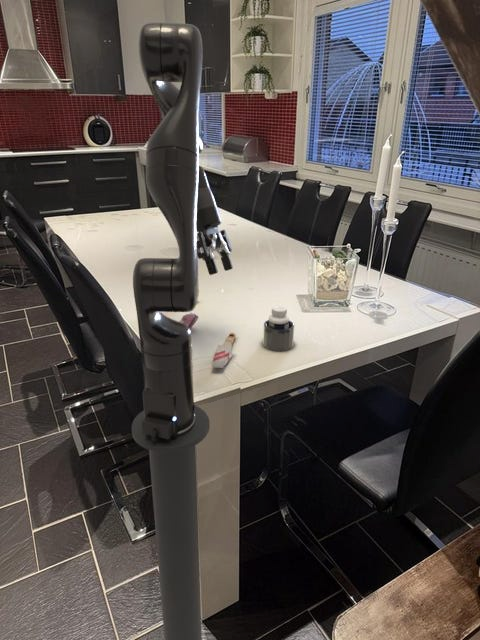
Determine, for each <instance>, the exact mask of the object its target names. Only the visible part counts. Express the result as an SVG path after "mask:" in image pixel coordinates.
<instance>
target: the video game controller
mask: <svg viewBox="0 0 480 640" xmlns="http://www.w3.org/2000/svg"><path fill="white" fill-rule="evenodd" d="M198 320H199V315H197V314H195V313H193V311H190V312H189V313H188V314H184V315H183V316H182V317H181V318H180V320H179V321H178V322H180V323H183V324H184V325H186V326H187V327H188V328H189V329H190V331H192V328H193V327H194V325H195V324H196V323H197V321H198Z"/></svg>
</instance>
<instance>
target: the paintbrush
mask: <svg viewBox="0 0 480 640" xmlns="http://www.w3.org/2000/svg"><path fill="white" fill-rule="evenodd" d="M235 339H236V333H235V332H230V333H229V334H228V336H227V338H226V340H225V342H224V344H217V346H216V350H215V353H214V356H213V360H212V363H211V368H218V369H220V368H221V369H223V368H224V367H225V366H226V365H227V364H228V363H229V361H230V360H231V359H232V358H233V344H234V341H235Z"/></svg>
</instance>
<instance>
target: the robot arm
mask: <svg viewBox="0 0 480 640" xmlns="http://www.w3.org/2000/svg"><path fill="white" fill-rule="evenodd" d="M138 37H139V38H138V55H139V63H140V66H141V70H142V74H143V76H144V78H145V81H146V84H147V86H148V88H149V90H150V92H151V95H152V97H153V99H154V101H155V102H156V106H157V107H158V110H159V113H160V117H161V121H160V123H159V124H158V125H157V127H156V128H155V129H154V131H153V133H152V134H151V135H150V137H149V140H148V142H147V146H146V149H145V150H146V151H145V152H146V153H145V156H146V157H145V185H146V187H147V190H148V192H149V194H150V196H151V199H152V200H153V202H154V203H155V205H156V206H157V208H158V210H160V212H161V214H162V216H163V217H164V218H165V220H166V223H168V225H169V227H170V230H171V232H172V234H173V236H174V238H175V240H176V243H177V248H178V258H169V257H168V258H167V257H166V258H165V257H157V258H156V257H149V258H148V257H143V258H140V259H138V260H137V261H136V263H135V265H134V268H133V273H132V289H133V298H134V303H135V310H136V317H137V318H136V319H137V326H138V335H139V343H140V344H139V345H140V354H141V368H142V380H143V381H142V382H143V391H142V404H143V410H144V416H145V418H144V419H143V420H142V432H143V434H146V435H151V439H152V441H154V442H157V441H158V438H157V437H160V438H164V439H168V440H169V439H172V440H175V439H176V438H177V437H178V436H181V435H184V434H186V433H187V432H189V431H190V430H191V429H192V428H193V427H194V424H195V415H194V410H195V406H196V405H195V399H194V398H195V397H194V368H193V367H194V365H193V364H194V363H193V336H192V332H191V331H192V330H190V329H189V328H188V327H187V326H186V325H184V324H183V323H180V322H179V321H177V320H175V319H172V318H171V317H168V316H166V315H165V314H163V313H191V312H193V311H194V310H195V309H196V307H197V303H198V300H199V295H198V288H199V260H201V259H202V261H204V263H205V266H206V268H207V272H208V275H209V276H213V275H215V274H218V273H219V271H218V267H217V264H216V261H215V258H214V252H216V253H217V254H218V255H219V256H220V261H221V264H222V266H223V270H224V271H230V270H233V267H234V266H233V264H232V261H231V257H230V254H231V252H232V251H233V248H232V245H231V243H230V240H229V237H228V233H227V231H226V230H225V229H221V230H220V229H219V226H220V225H221V224H222V219H221V216H220V212H219V209H218V206H217V203H216V200H215V197H214V194H213V192H212V190H211V187H210V184H209V181H208V178H207V174H206V172H205V171H206V170H205V169H204V168H203V166H202V165H200V154H202V152H203V149H204V141H203V137H202V135H201V133H200V131H199V118H200V114H199V113H200V98H201V85H202V73H203V55H204V54H203V52H204V51H203V39H202V34H201V32H200V29H199V28H198V27H197V26H196V25H194V24H191V23H181V22H180V23H179V22H178V23H177V22H157V21H156V22H146V23H144V24H143V25H142V26H141V28H140V31H139V36H138ZM173 83H181V84H180V87H179V88H178V87H177V86H176V85H175V84H173ZM194 405H195V406H194Z"/></svg>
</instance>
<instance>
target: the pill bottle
mask: <svg viewBox="0 0 480 640" xmlns="http://www.w3.org/2000/svg"><path fill="white" fill-rule="evenodd" d="M287 314H288V308H287V307H285V306H284V305H274V306H272V307H271V314H270V315H268V320H269V325H268V327H269V328H272V329H276V330H285V329H288V328H289V321H290V317H289V316H288V315H287Z"/></svg>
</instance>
